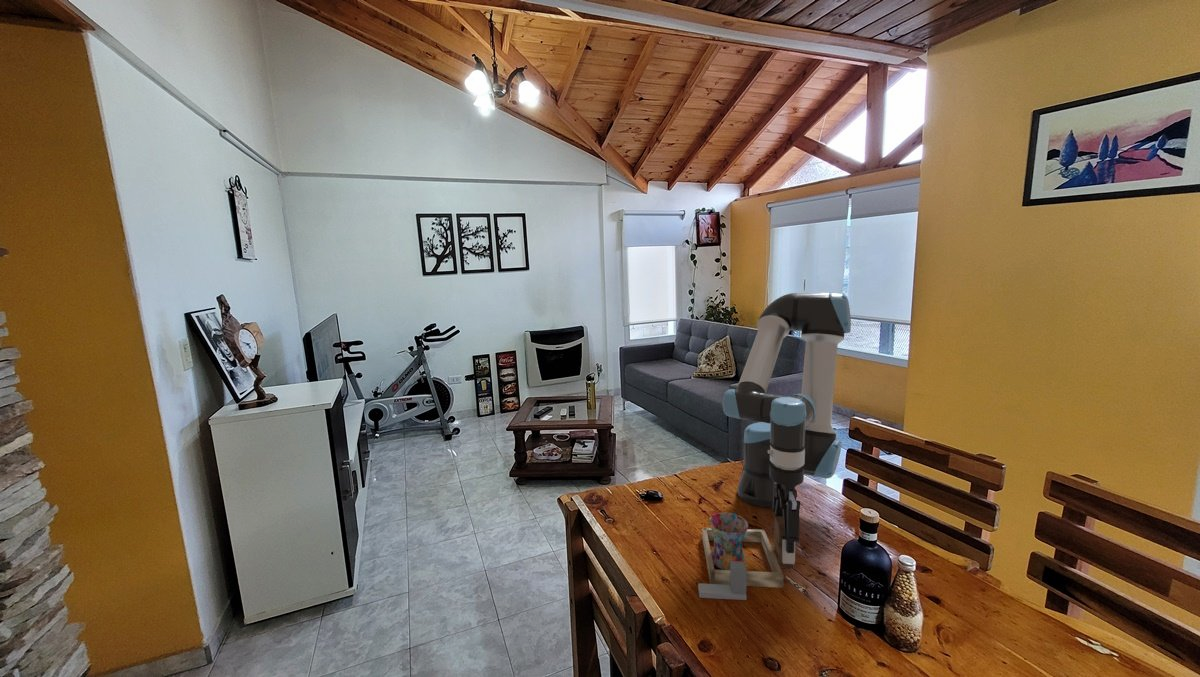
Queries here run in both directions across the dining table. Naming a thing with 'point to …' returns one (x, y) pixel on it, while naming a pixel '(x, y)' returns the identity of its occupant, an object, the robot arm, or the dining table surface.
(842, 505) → the dining table surface
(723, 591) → the grey l-shaped block
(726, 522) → the mug
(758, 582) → the open square frame
